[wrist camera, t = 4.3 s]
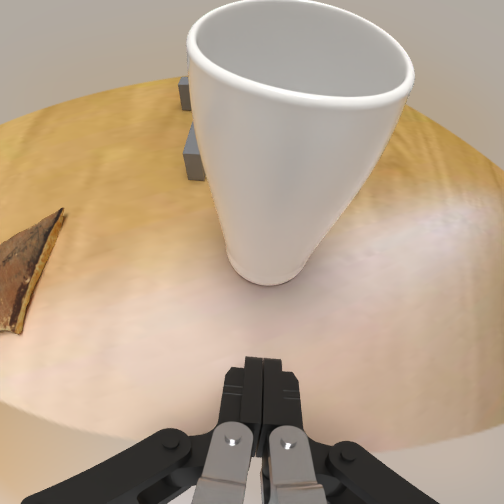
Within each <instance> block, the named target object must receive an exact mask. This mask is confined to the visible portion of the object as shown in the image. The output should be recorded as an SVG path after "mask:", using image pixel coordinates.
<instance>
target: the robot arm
mask: <svg viewBox="0 0 504 504" xmlns="http://www.w3.org/2000/svg"><path fill="white" fill-rule="evenodd" d="M255 452H256V457H262V468H261V472H260V478H261V494H262V504H439V503H438V502H436V501H435V500H434V499H432V498H430V497H429V496H428V495H426V494H425V493H423V492H422V491H420V490H419V489H417V488H416V487H415V486H413V485H412V484H410V483H409V482H408V481H406V480H405V479H404V478H402V477H401V476H399V475H398V474H397V473H395V472H394V471H393V470H391V469H390V468H388V467H387V466H386V465H385V464H383V463H382V462H381V461H379V460H378V459H377V458H375V457H374V456H373V455H372V454H370V453H369V452H368V451H366V450H365V449H364V448H363V447H361V446H360V445H358V444H357V443H354V442H350V441H342V442H339V443H336V444H335V445H334V446H329V445H325V444H321V443H318V442H315V441H313V440H312V439H310V438H309V437H308V436H307V435H306V433H305V432H304V429H303V423H302V412H301V402H300V392H299V382H298V380H297V378H296V377H295V375H294V374H293V372H284V371H282V362H281V359H270V358H264V360H263V358H257V357H247V356H246V357H245V366H244V368H236V367H231V369H230V370H229V371H228V372H227V374H226V375H225V381H224V387H223V394H222V400H221V406H220V413H219V419H218V423H217V425H216V427H215V428H214V429H213V430H211V431H210V432H208V433H206V434H203V435H196V436H187V435H186V434H185V433H184V432H182V431H181V430H178V429H173V428H167V429H162V430H160V431H158V432H156V433H154V434H153V435H151V436H149V437H148V438H146V439H144V440H142V441H141V442H139V443H137V444H135V445H134V446H132V447H130V448H128V449H126V450H124V451H122V452H121V453H119V454H117V455H115V456H113V457H111V458H109V459H108V460H106V461H104V462H102V463H100V464H98V465H96V466H94V467H92V468H90V469H88V470H86V471H84V472H82V473H80V474H78V475H76V476H73V477H71V478H69V479H67V480H65V481H63V482H61V483H58V484H56V485H54V486H52V487H49V488H47V489H45V490H42V491H40V492H38V493H35V494H33V495H31V496H28V497H26V498H25V499H24V500H23V501H22V502H21V504H167V503H168V502H170V501H171V500H173V499H174V498H176V497H177V496H179V495H180V494H182V493H183V492H184V491H186V490H187V489H189V488H190V487H191V486H194V485H196V489H195V493H194V496H193V500H192V503H191V504H243V501H244V495H245V488H246V481H247V475H248V471H249V467H250V462H251V457H254V456H255Z"/></svg>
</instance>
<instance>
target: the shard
mask: <svg viewBox="0 0 504 504" xmlns="http://www.w3.org/2000/svg"><path fill="white" fill-rule="evenodd" d="M63 212H64V208H61V209H60V210H58V211H57V212H55V213H53V214H51V215H50V216H48V217H46V218H44V219H43V220H41V221H40V222H39V223H38V224H35V225H34V226H32V227H30V228H28V229H26V230H24V231H22V232H20V233H18V234H16V235H14V236H13V237H11V238H10V239H9V240H7V241H4V242H3V243H2V244H0V330H9V331H11V332H13V333H15V334H21V331H22V329H23V319H24V317H25V311H26V307H27V304H28V303H29V299H30V296H31V294H32V292H33V289H34V287H35V285H36V283H37V281H38V279H39V277H40V275H41V272H42V270H43V268H44V266H45V263H46V261H47V260H48V257H49V255H50V252H51V251H52V249H53V247H54V245H55V242H56V240H57V237H58V233H59V231H60V229H61V227H62V223H63V218H64V217H63V216H62V215H63Z"/></svg>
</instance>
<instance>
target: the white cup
mask: <svg viewBox="0 0 504 504" xmlns="http://www.w3.org/2000/svg"><path fill="white" fill-rule="evenodd" d="M186 47H187V64H188V82H189V93H190V102H191V110H192V117H193V123H194V129H195V135H196V140H197V145H198V149H199V153H200V157H201V161H202V164H203V168H204V171H205V175H206V178H207V182H208V185H209V188H210V192H211V195H212V198H213V202H214V205H215V208H216V212H217V215H218V219H219V222H220V226H221V229H222V233H223V236H224V240H225V246H226V253H227V256H228V259H229V261H230V263H231V265H232V267H233V268H234V269H235V271H236V272H237V273H238V274H239V275H241V276H242V277H243V278H245V279H246V280H248V281H250V282H253V283H255V284H259V285H267V286H270V285H278V284H282V283H285V282H287V281H289V280H291V279H292V278H294V277H295V276H296V275H297V274H298V273H299V272H300V271H301V270H302V269H303V267H304V266H305V264H306V262H307V260H308V259H309V257H310V255H311V254H312V253H313V251H314V250H315V249H316V247H317V246H318V245H319V243H320V242H321V241H322V240H323V238H324V237H325V236H326V234H327V233H328V232H329V230H330V229H331V228H332V226H333V225H334V224H335V223H336V221H337V220H338V219H339V217H340V216H341V215H342V213H343V212H344V211H345V209H346V208H347V207H348V205H349V204H350V203H351V201H352V200H353V199H354V197H355V196H356V195H357V193H358V192H359V190H360V189H361V188H362V186H363V185H364V183H365V182H366V180H367V179H368V177H369V176H370V174H371V173H372V171H373V169H374V168H375V166H376V164H377V163H378V161H379V159H380V157H381V156H382V154H383V152H384V150H385V148H386V146H387V144H388V142H389V140H390V138H391V136H392V134H393V132H394V130H395V128H396V125H397V123H398V121H399V119H400V116H401V114H402V112H403V109H404V107H405V104H406V102H407V99H408V96H409V94H410V92H411V89H412V87H413V85H414V80H415V71H414V67H413V64H412V62H411V60H410V58H409V56H408V54H407V53H406V51H405V50H404V49H403V48H402V46H401V45H400V44H399V43H398V42H397V41H396V40H395V39H394V38H393V37H392V36H390V35H389V34H388V33H387V32H385V31H384V30H382V29H381V28H379V27H378V26H377V25H375V24H373V23H371V22H370V21H368V20H366V19H364V18H362V17H360V16H358V15H356V14H354V13H351V12H348V11H346V10H343V9H340V8H337V7H334V6H331V5H327V4H323V3H319V2H314V1H309V0H243V1H238V2H234V3H230V4H227V5H224V6H221V7H219V8H216V9H214V10H212V11H210V12H208V13H207V14H205V15H204V16H202V17H201V18H200V19H199V20H198V21H196V22H195V24H194V25H193V26H192V27H191V29H190V31H189V33H188V36H187V41H186Z"/></svg>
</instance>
